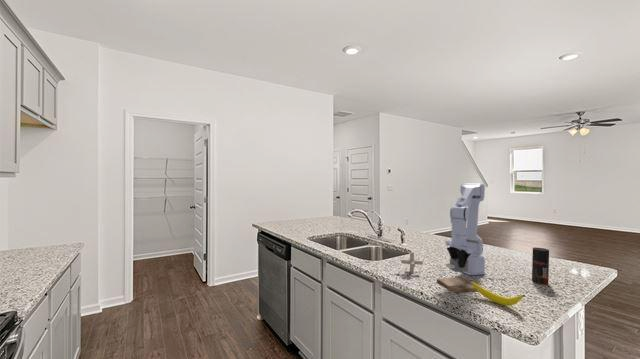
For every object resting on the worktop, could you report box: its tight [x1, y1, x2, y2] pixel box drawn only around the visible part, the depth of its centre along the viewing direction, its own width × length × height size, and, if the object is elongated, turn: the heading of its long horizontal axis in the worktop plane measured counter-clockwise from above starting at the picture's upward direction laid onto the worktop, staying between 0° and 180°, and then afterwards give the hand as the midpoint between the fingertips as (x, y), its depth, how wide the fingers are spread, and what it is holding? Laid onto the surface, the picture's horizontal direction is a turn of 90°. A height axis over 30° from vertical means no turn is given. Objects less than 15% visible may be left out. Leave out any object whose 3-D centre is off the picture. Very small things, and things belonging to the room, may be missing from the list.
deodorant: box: [531, 246, 550, 286], centre depth 129 cm, size 6×6×15 cm
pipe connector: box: [400, 251, 424, 274], centre depth 140 cm, size 10×10×10 cm
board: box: [436, 277, 478, 293], centre depth 123 cm, size 12×12×1 cm
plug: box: [445, 258, 468, 273], centre depth 123 cm, size 9×4×4 cm, turn 102°
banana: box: [470, 281, 526, 307], centre depth 107 cm, size 3×19×6 cm, turn 32°
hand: (458, 265), depth 123 cm, fingers closed on plug, 4 cm apart
